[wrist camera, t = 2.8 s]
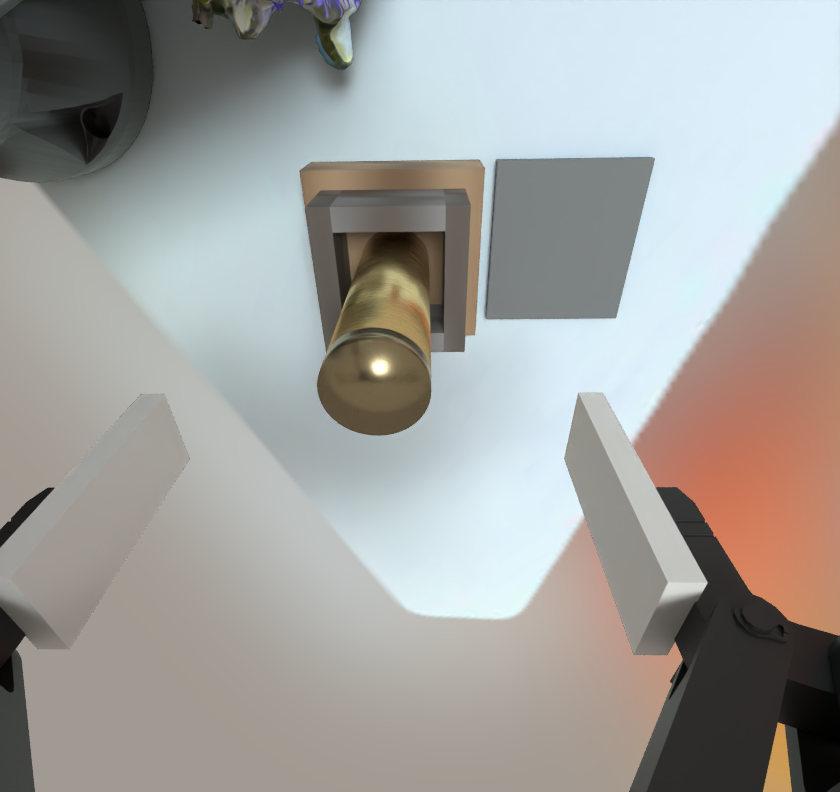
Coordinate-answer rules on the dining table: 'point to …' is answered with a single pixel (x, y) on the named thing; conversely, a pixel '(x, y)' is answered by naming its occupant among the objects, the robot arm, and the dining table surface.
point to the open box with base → (399, 212)
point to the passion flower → (255, 3)
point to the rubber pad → (563, 235)
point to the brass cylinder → (382, 340)
